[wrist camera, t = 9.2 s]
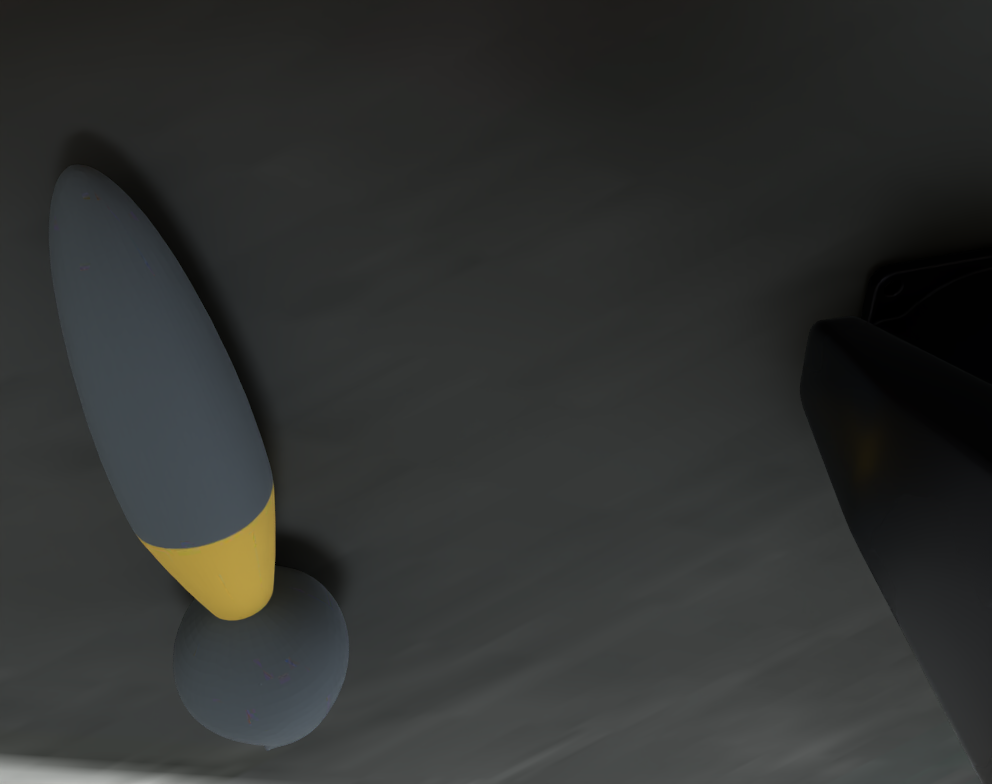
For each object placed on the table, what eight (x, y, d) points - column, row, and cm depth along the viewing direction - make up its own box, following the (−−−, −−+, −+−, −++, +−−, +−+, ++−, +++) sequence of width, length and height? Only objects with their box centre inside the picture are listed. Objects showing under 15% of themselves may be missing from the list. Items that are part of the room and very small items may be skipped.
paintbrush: (-93, 179, 20) (-181, 321, 16) (142, 124, 20) (109, 251, 16) (239, 682, 33) (233, 824, 29) (379, 647, 33) (391, 784, 29)
